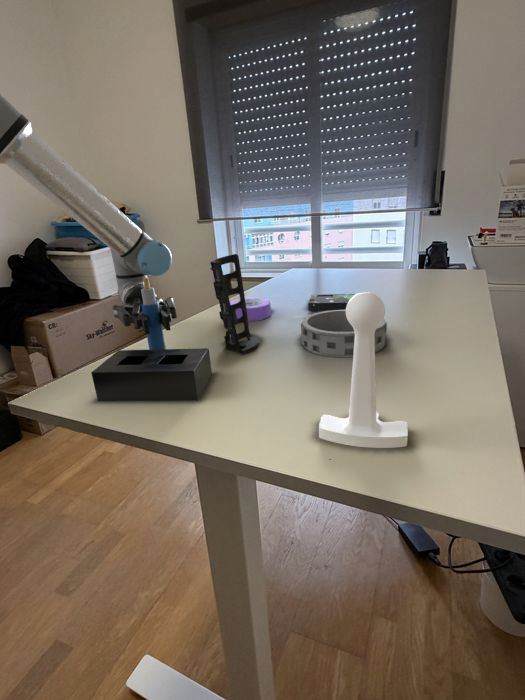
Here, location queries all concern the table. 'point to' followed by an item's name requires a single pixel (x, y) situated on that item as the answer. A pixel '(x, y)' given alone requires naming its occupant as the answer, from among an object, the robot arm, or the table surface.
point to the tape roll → (255, 308)
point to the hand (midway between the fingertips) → (157, 325)
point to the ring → (334, 334)
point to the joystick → (364, 386)
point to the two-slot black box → (153, 375)
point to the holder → (229, 311)
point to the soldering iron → (152, 317)
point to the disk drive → (329, 302)
